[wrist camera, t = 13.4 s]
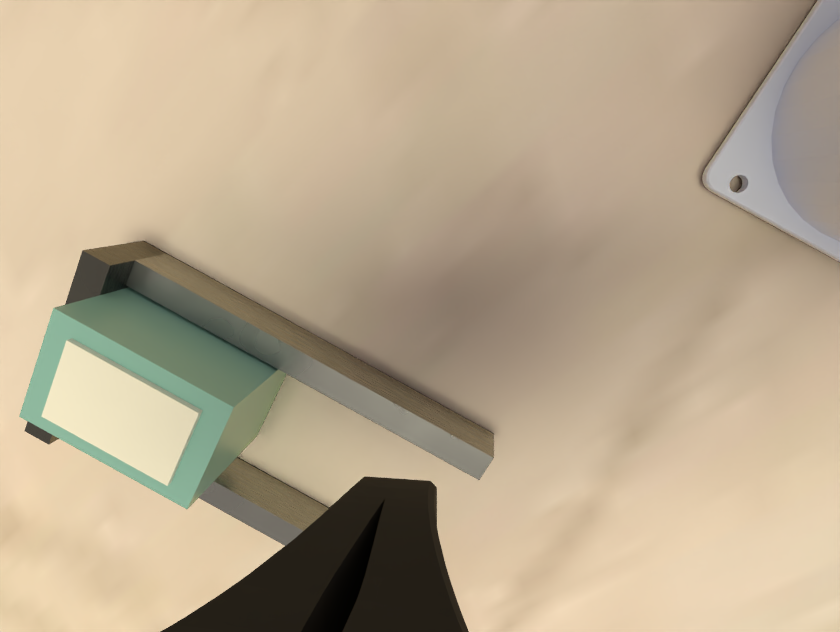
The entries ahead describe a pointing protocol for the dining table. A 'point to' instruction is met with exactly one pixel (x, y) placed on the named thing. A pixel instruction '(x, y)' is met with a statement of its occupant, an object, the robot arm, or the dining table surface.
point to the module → (148, 392)
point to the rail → (290, 353)
